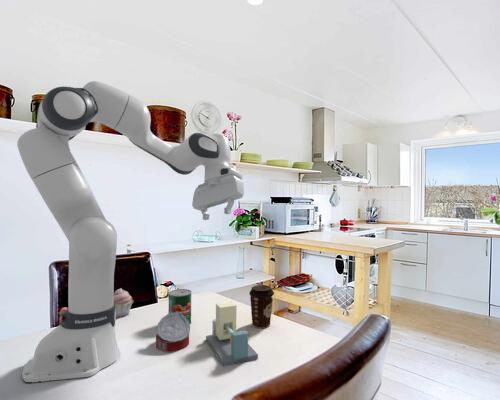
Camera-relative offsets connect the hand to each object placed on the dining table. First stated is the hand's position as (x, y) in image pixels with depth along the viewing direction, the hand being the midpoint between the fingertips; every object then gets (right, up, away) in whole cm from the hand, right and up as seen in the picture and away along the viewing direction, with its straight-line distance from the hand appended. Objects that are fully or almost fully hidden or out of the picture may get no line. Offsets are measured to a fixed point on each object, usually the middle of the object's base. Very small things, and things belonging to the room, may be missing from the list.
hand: (216, 216), depth 105 cm
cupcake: (-38, -38, +16) cm, 56 cm away
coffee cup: (+15, -38, +7) cm, 42 cm away
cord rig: (+5, -38, -11) cm, 40 cm away
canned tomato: (-14, -38, +8) cm, 41 cm away
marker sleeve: (+4, -36, -7) cm, 37 cm away
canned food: (-12, -38, -8) cm, 41 cm away
